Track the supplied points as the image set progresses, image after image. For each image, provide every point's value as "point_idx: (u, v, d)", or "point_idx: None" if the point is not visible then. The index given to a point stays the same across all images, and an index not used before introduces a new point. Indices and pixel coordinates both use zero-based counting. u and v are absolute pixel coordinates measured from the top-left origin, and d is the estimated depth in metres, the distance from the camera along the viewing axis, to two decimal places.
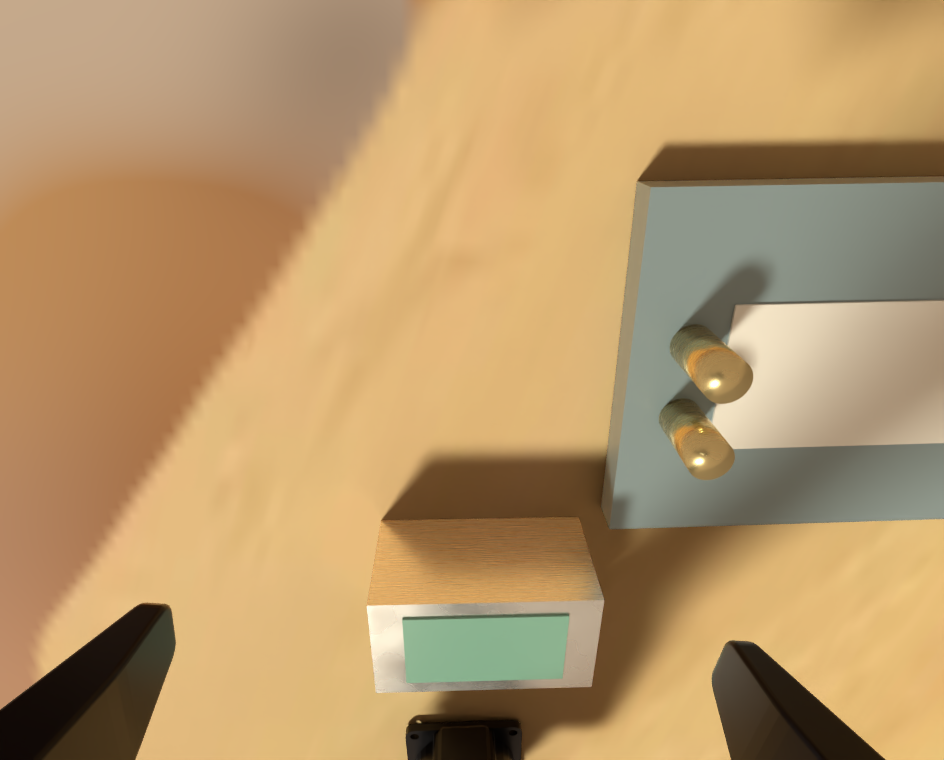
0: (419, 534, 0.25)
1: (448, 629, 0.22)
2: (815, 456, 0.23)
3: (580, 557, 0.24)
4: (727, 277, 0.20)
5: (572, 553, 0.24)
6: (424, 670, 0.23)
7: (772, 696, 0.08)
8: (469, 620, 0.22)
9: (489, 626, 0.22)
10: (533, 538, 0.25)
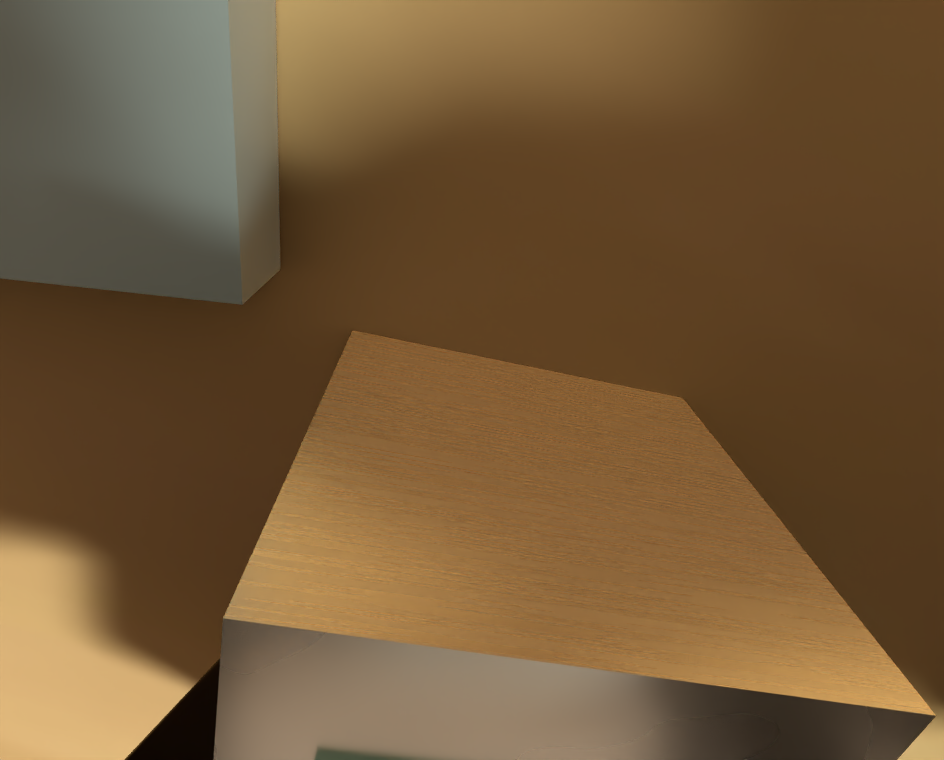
0: None
1: None
2: None
3: None
4: None
5: None
6: None
7: None
8: None
9: None
10: None
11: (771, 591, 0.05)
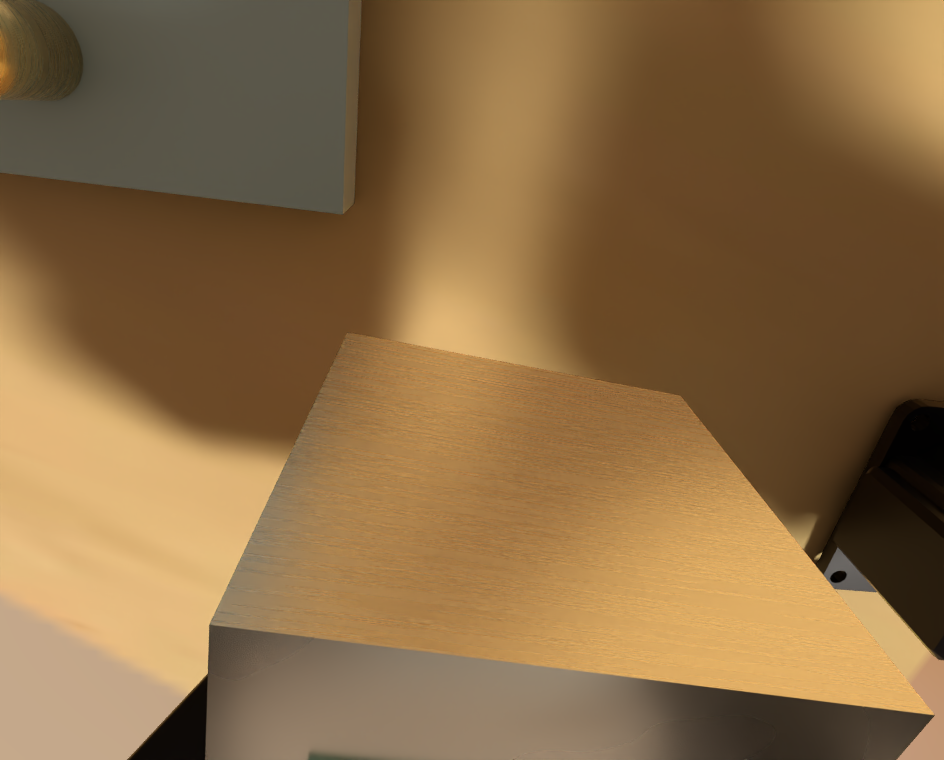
0: None
1: None
2: None
3: None
4: None
5: None
6: None
7: None
8: None
9: None
10: None
11: (767, 590, 0.05)
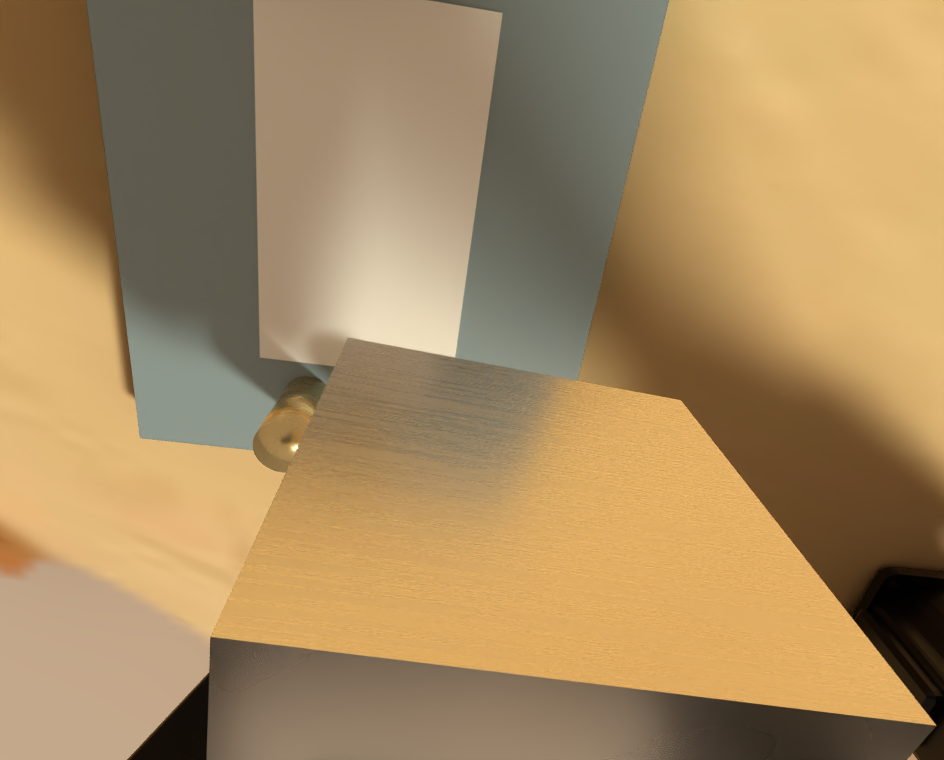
0: None
1: None
2: (490, 238, 0.16)
3: None
4: (228, 366, 0.18)
5: None
6: None
7: None
8: None
9: None
10: None
11: (769, 599, 0.05)
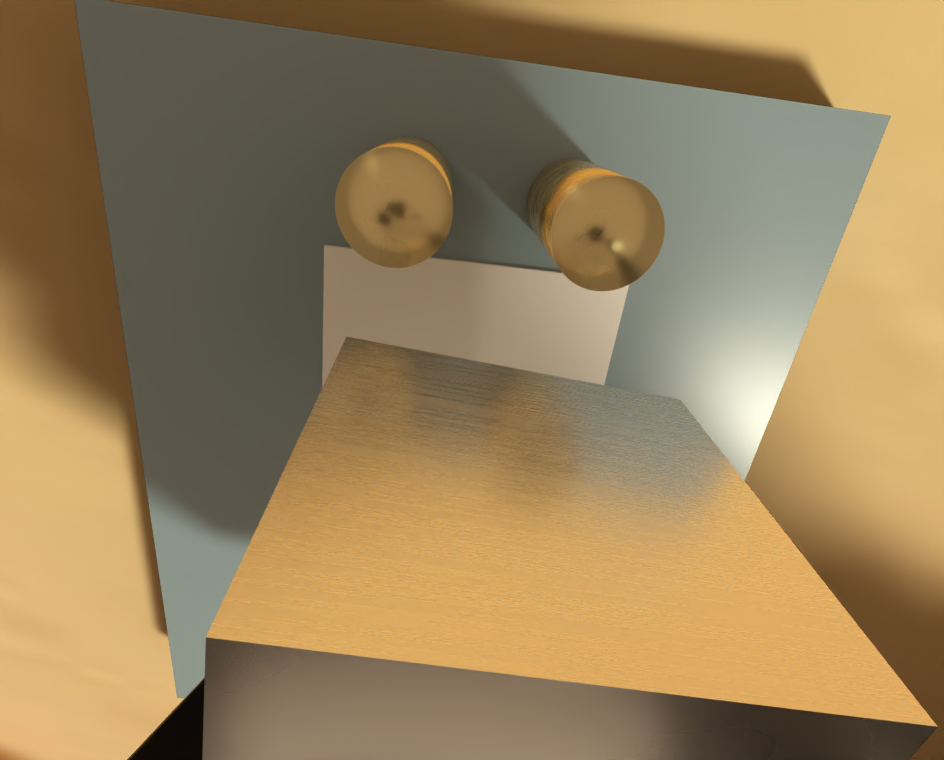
0: None
1: None
2: None
3: None
4: None
5: None
6: None
7: None
8: None
9: None
10: None
11: (769, 599, 0.05)
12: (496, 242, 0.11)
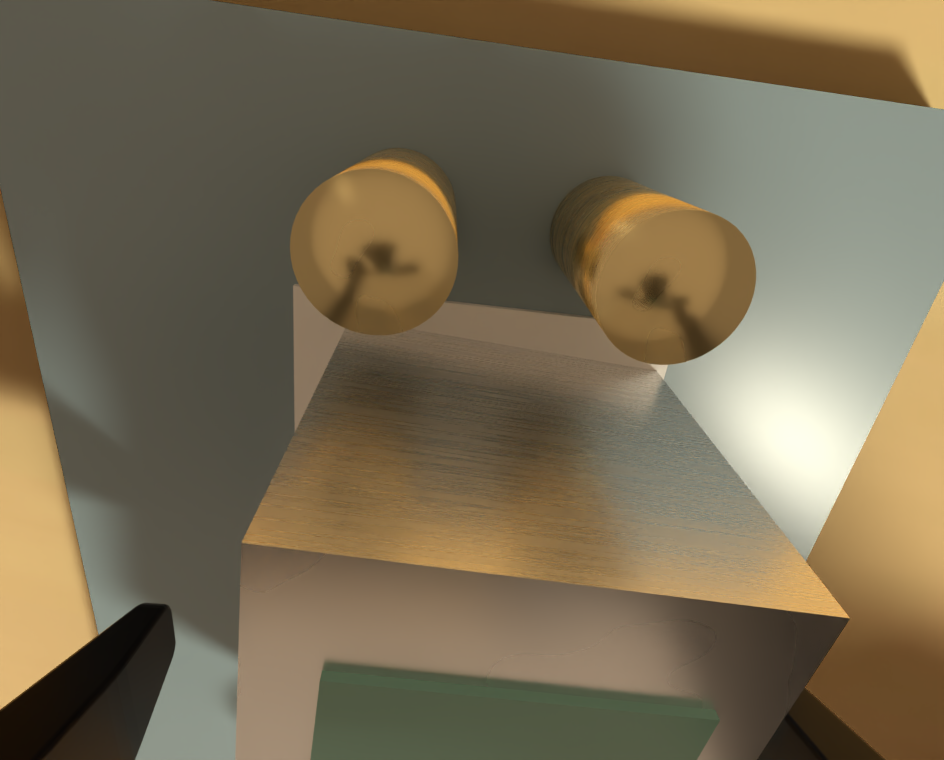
0: None
1: None
2: None
3: None
4: None
5: None
6: None
7: None
8: None
9: None
10: None
11: (717, 526, 0.06)
12: (511, 280, 0.09)
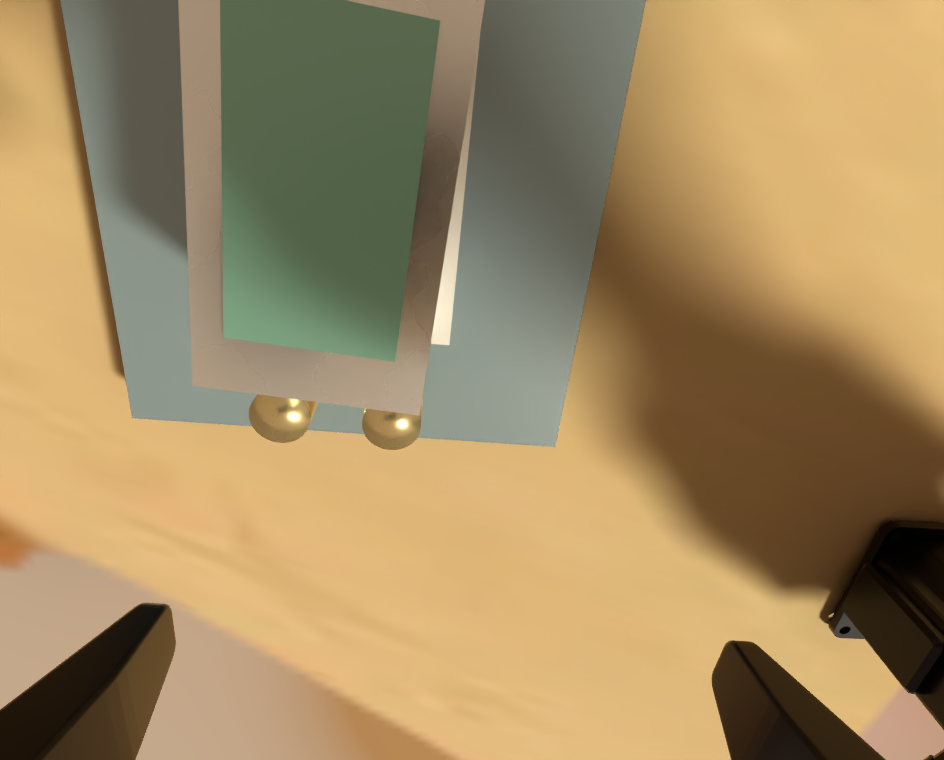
0: None
1: (258, 260, 0.11)
2: (483, 195, 0.16)
3: None
4: None
5: None
6: (372, 324, 0.12)
7: (772, 696, 0.08)
8: (237, 215, 0.11)
9: (255, 175, 0.11)
10: None
11: None
12: None
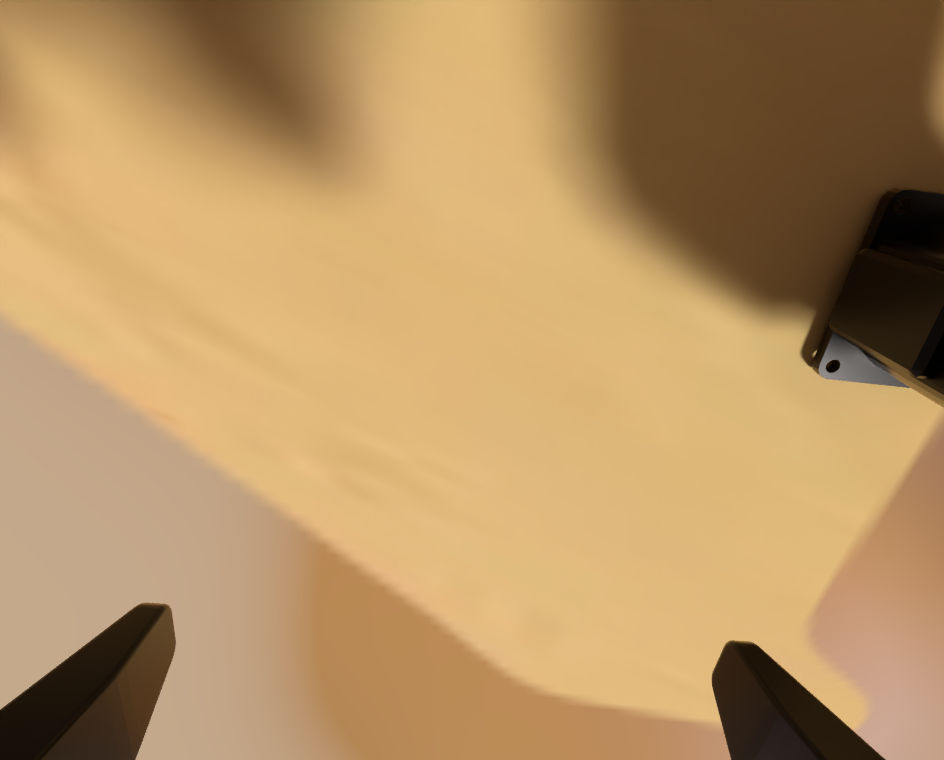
0: None
1: None
2: None
3: None
4: None
5: None
6: None
7: (772, 696, 0.08)
8: None
9: None
10: None
11: None
12: None
